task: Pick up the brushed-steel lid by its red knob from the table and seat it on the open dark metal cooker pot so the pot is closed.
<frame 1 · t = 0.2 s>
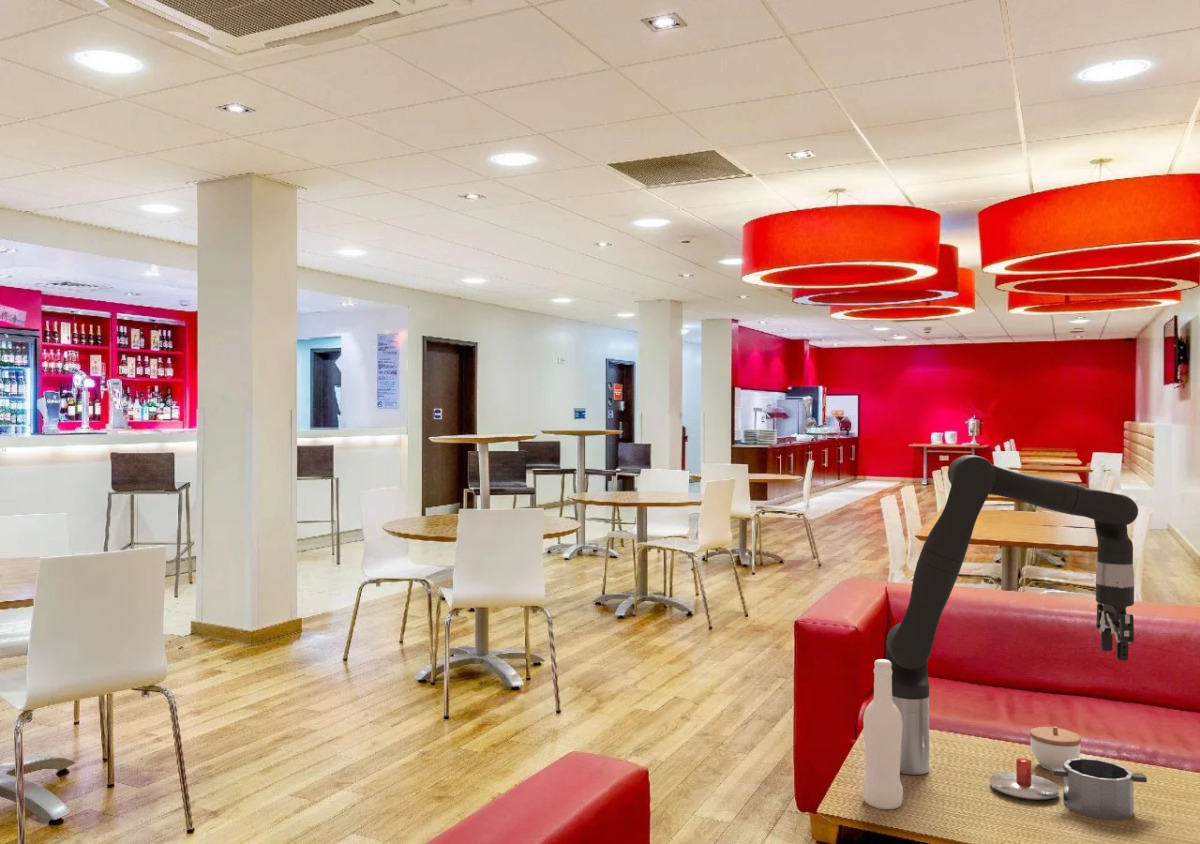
hand: (1114, 655, 205), 29 cm above the table, fingers open, 8 cm apart
lid: (1023, 791, 200), on the table
lidded jar: (1055, 768, 214), on the table
bottle: (882, 803, 193), on the table
pot: (1097, 807, 192), on the table
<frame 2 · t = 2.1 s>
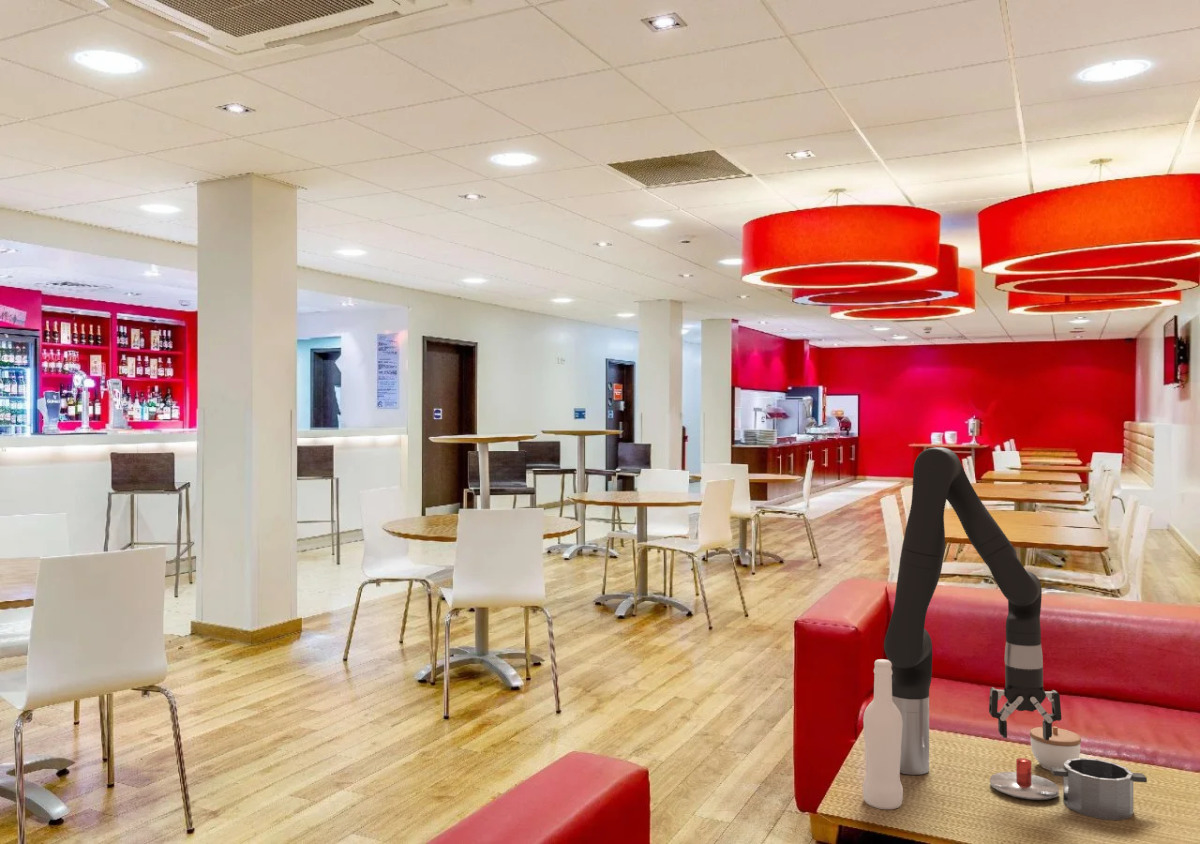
hand: (1025, 738, 200), 12 cm above the table, fingers open, 8 cm apart
nothing on the table moved.
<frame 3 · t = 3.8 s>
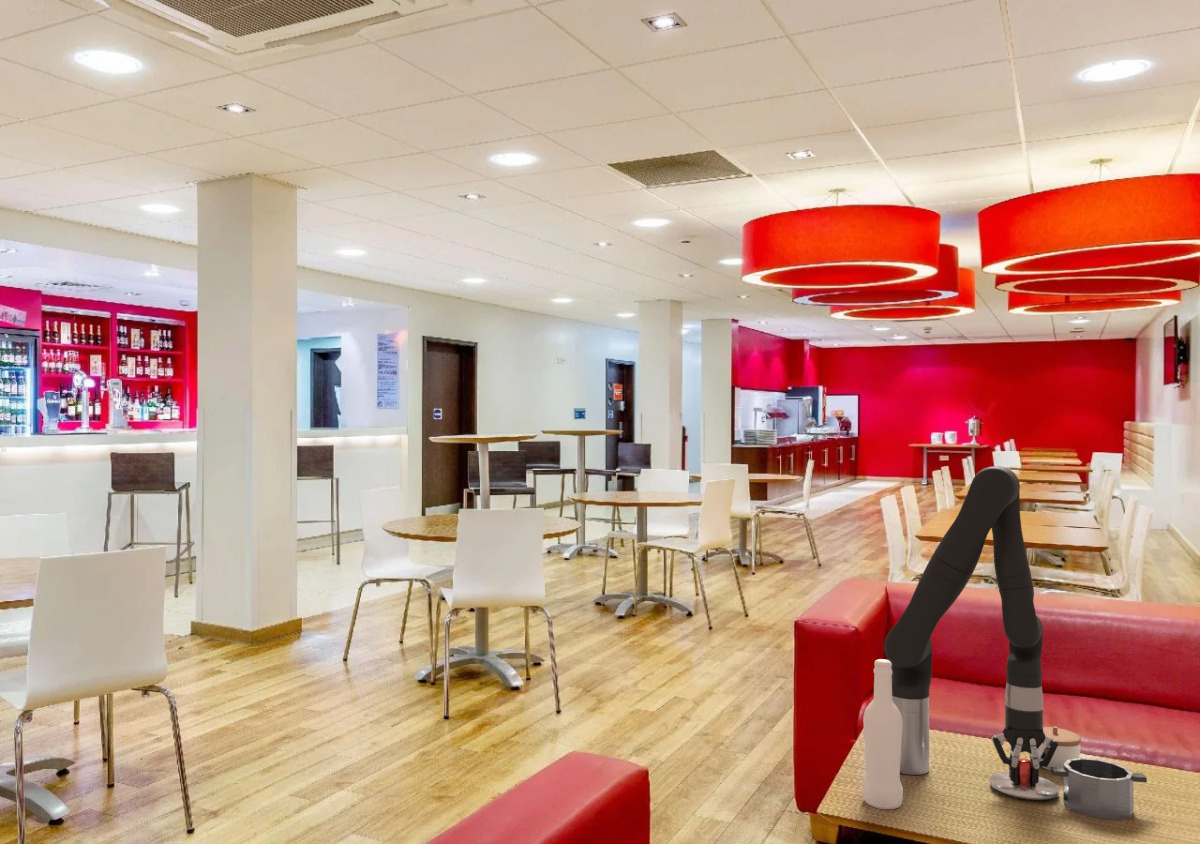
hand: (1024, 783, 200), 2 cm above the table, fingers closed on lid, 3 cm apart
lid: (1023, 792, 200), on the table, touching gripper
everything else where it was.
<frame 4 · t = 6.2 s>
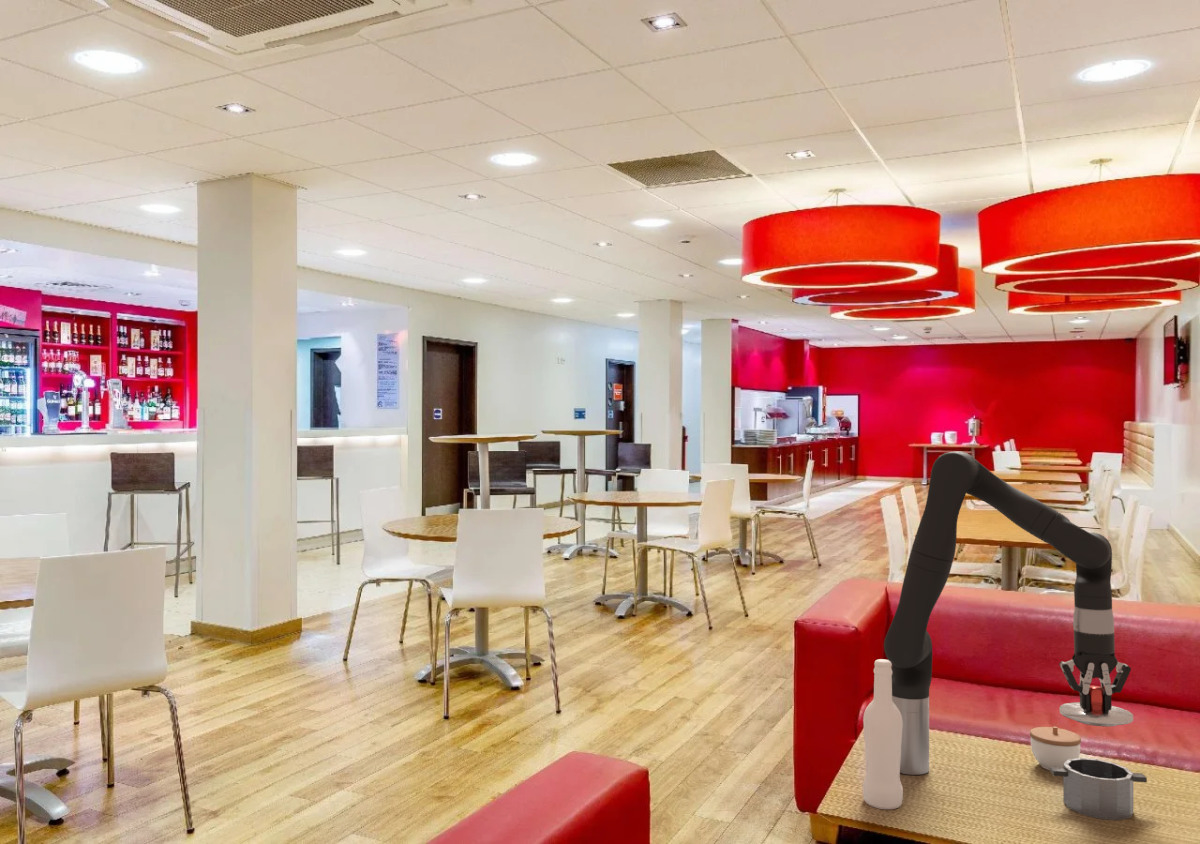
hand: (1095, 711, 192), 20 cm above the table, fingers closed on lid, 3 cm apart
lid: (1095, 720, 192), point 18 cm above the table, touching gripper
everything else where it was.
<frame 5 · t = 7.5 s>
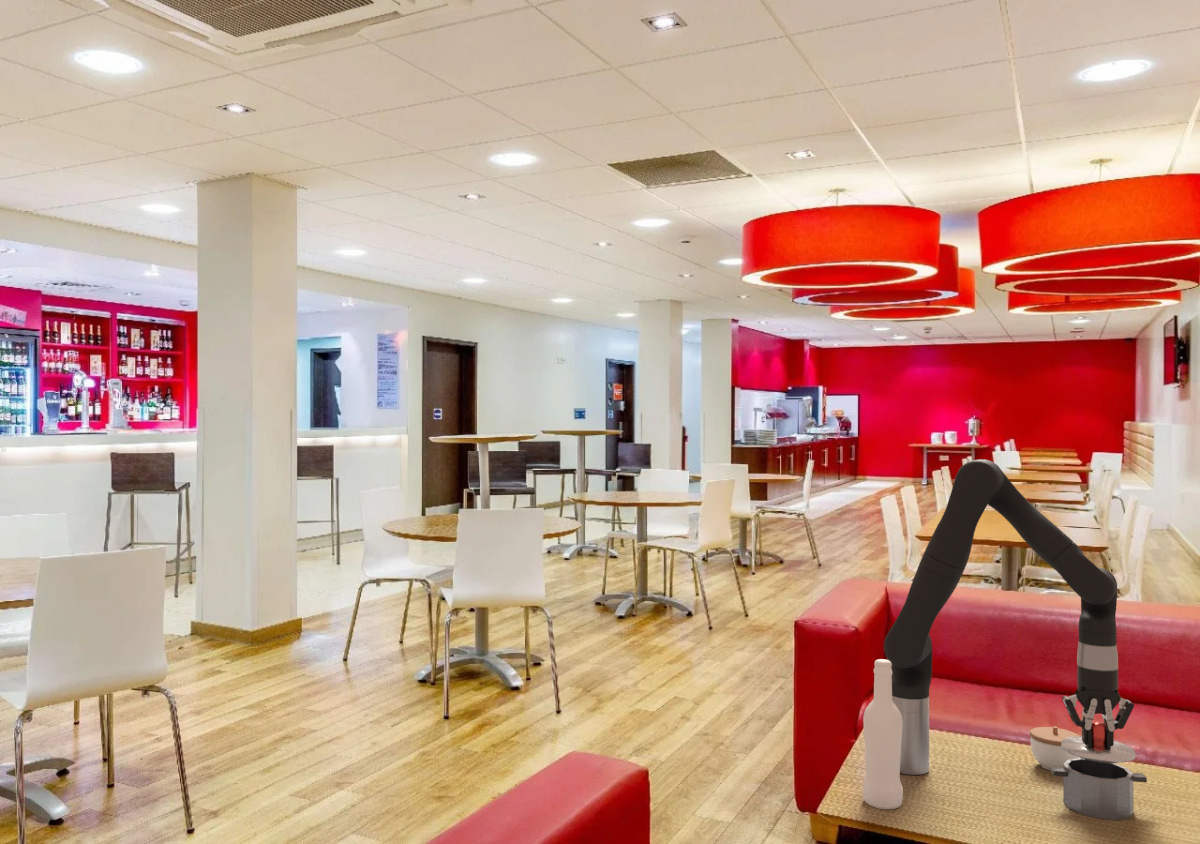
hand: (1097, 746, 192), 13 cm above the table, fingers closed on lid, 3 cm apart
lid: (1097, 755, 192), point 11 cm above the table, touching gripper
everything else where it was.
when the fingers open (10 cm above the table, at t = 8.7 s): lid drops 1 cm, resting on pot.
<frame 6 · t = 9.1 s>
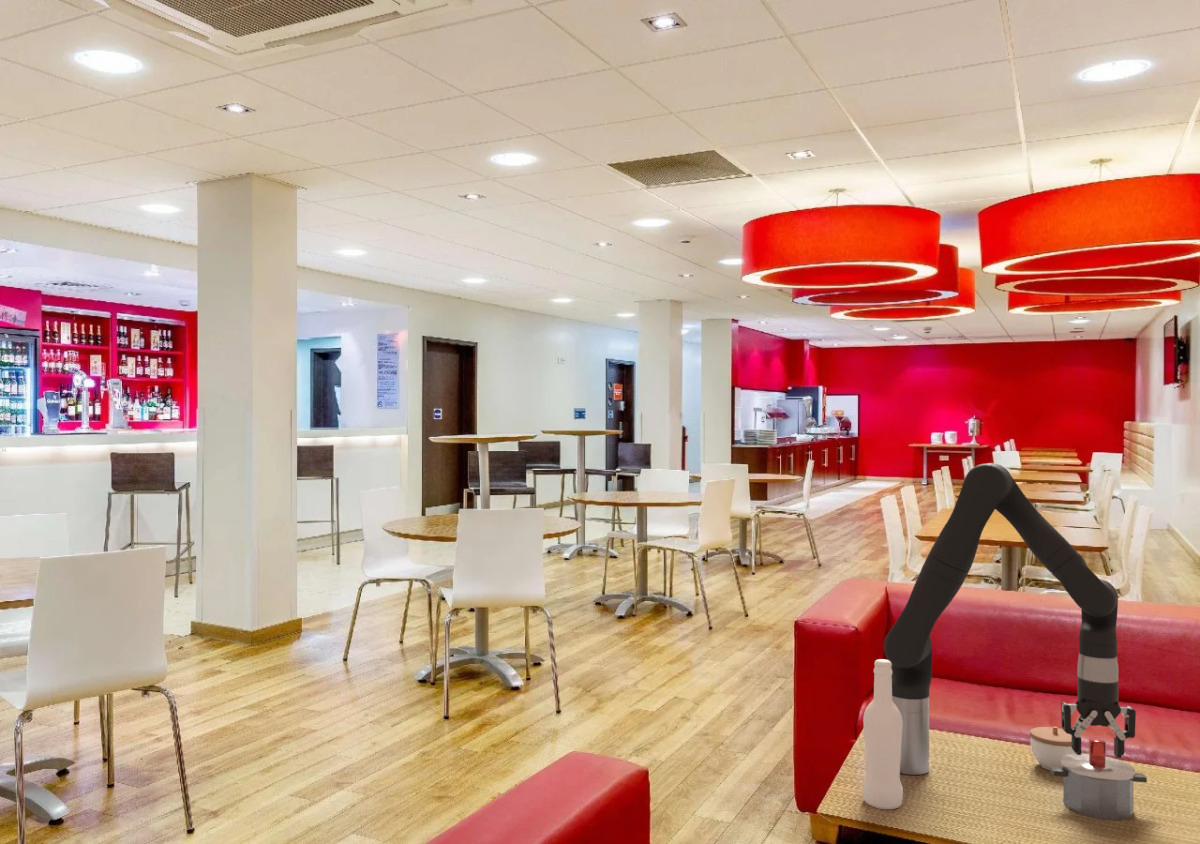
hand: (1097, 755, 192), 11 cm above the table, fingers open, 7 cm apart
lid: (1097, 773, 192), point 7 cm above the table, touching pot
everything else where it was.
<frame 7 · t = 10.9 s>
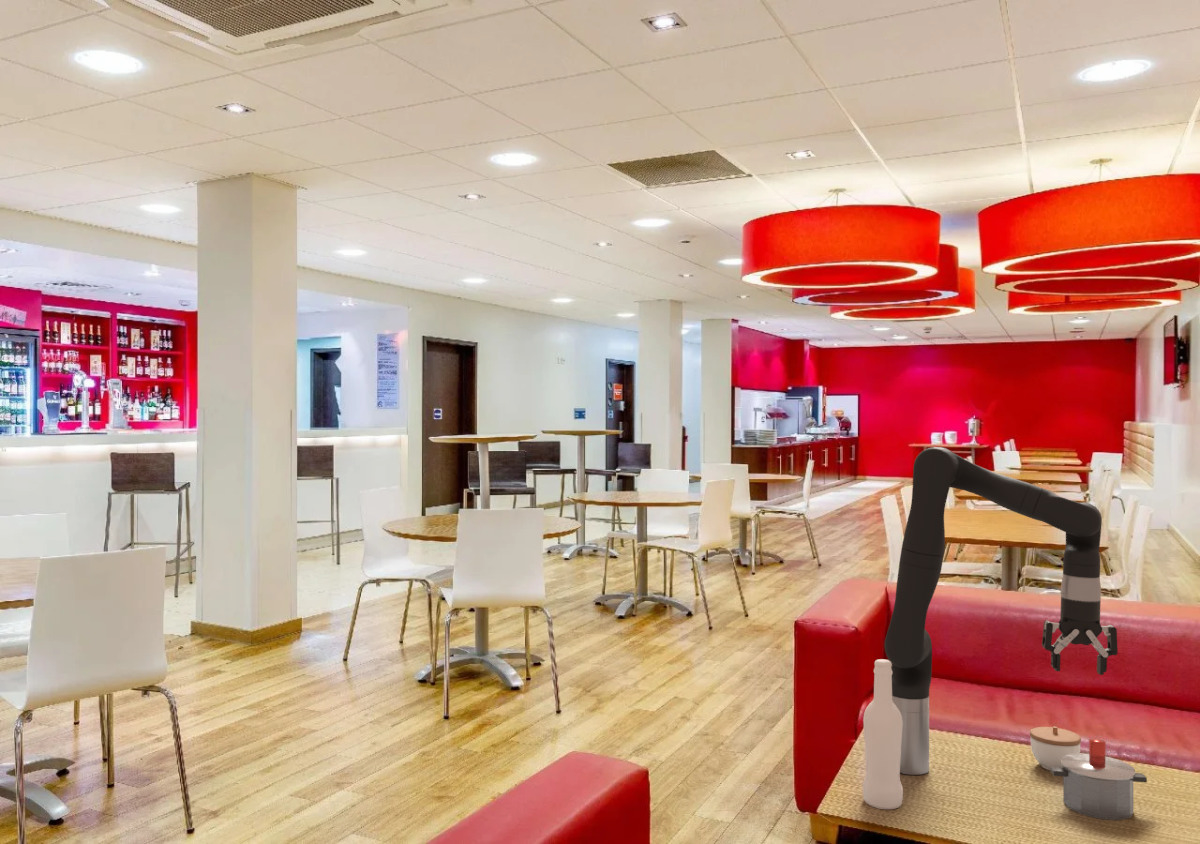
hand: (1078, 672, 196), 27 cm above the table, fingers open, 8 cm apart
nothing on the table moved.
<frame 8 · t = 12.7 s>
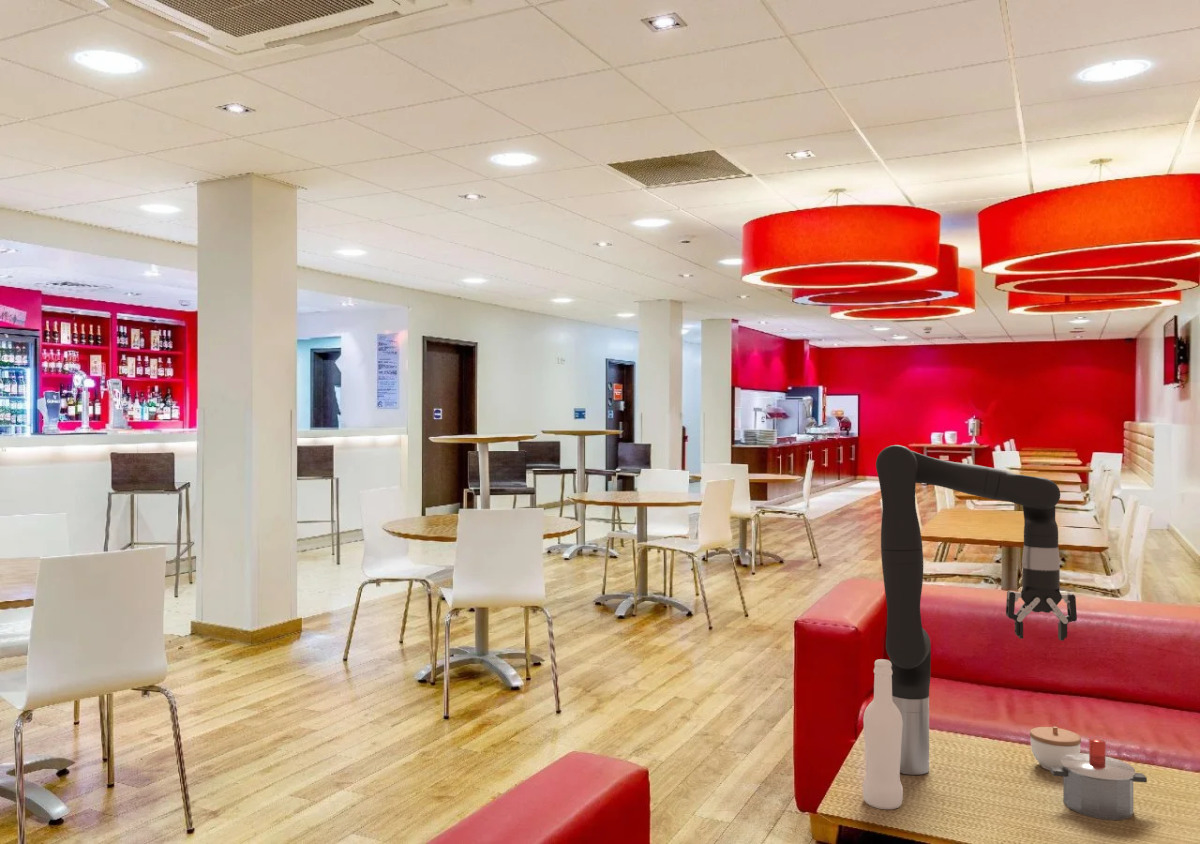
hand: (1040, 638, 205), 32 cm above the table, fingers open, 8 cm apart
nothing on the table moved.
at the end: lid 0.1 cm off-centre on the pot, point 7.0 cm above the pot's base; lid tilted 0°; the gripper is holding nothing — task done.
